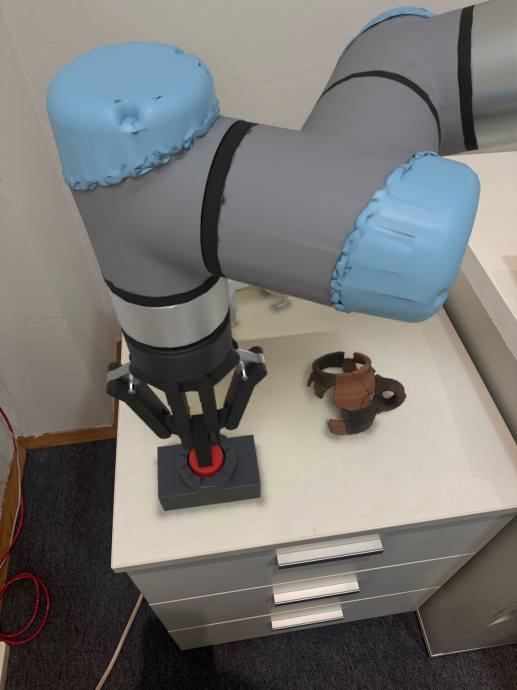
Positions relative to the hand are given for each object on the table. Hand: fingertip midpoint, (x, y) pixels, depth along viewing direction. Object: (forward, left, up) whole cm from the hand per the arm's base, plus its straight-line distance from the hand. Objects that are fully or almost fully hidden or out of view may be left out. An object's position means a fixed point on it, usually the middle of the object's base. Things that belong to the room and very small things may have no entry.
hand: (204, 455), depth 52 cm
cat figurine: (+11, -26, -7) cm, 29 cm away
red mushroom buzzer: (0, 0, -7) cm, 7 cm away
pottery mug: (-9, -18, -7) cm, 22 cm away
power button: (0, 0, -2) cm, 2 cm away
